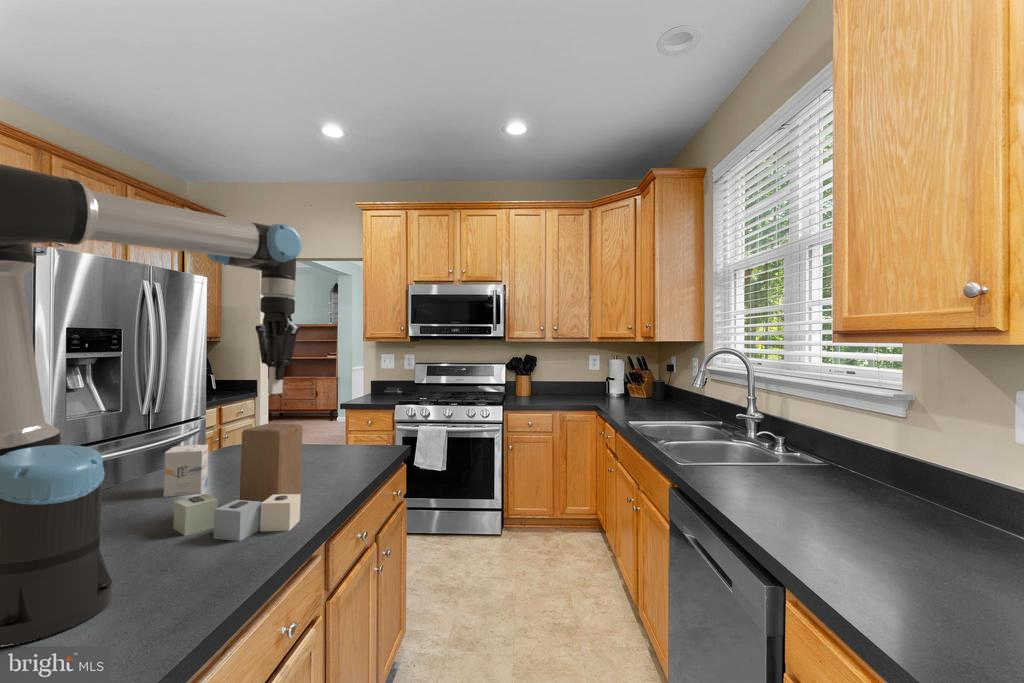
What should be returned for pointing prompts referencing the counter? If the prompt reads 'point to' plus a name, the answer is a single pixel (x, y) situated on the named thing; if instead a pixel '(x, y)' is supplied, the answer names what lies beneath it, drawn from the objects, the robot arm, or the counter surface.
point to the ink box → (185, 470)
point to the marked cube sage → (194, 514)
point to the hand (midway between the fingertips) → (275, 393)
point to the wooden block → (270, 461)
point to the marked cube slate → (237, 520)
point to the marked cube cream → (280, 512)
